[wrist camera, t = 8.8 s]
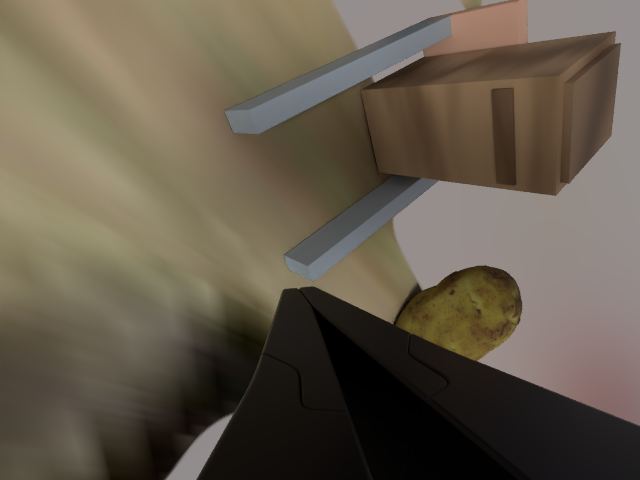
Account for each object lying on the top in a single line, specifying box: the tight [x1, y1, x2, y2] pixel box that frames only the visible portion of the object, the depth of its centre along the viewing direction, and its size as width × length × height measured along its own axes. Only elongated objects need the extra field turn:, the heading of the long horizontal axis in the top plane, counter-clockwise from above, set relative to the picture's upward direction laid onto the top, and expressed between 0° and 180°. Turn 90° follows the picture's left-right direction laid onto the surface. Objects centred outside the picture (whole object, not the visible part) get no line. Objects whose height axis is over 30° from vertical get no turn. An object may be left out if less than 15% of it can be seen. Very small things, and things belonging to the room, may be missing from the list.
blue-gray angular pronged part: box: [225, 0, 528, 282], centre depth 25 cm, size 18×11×7 cm, turn 111°
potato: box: [395, 266, 522, 361], centre depth 34 cm, size 8×13×8 cm, turn 107°
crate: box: [361, 31, 621, 196], centre depth 24 cm, size 7×6×12 cm
